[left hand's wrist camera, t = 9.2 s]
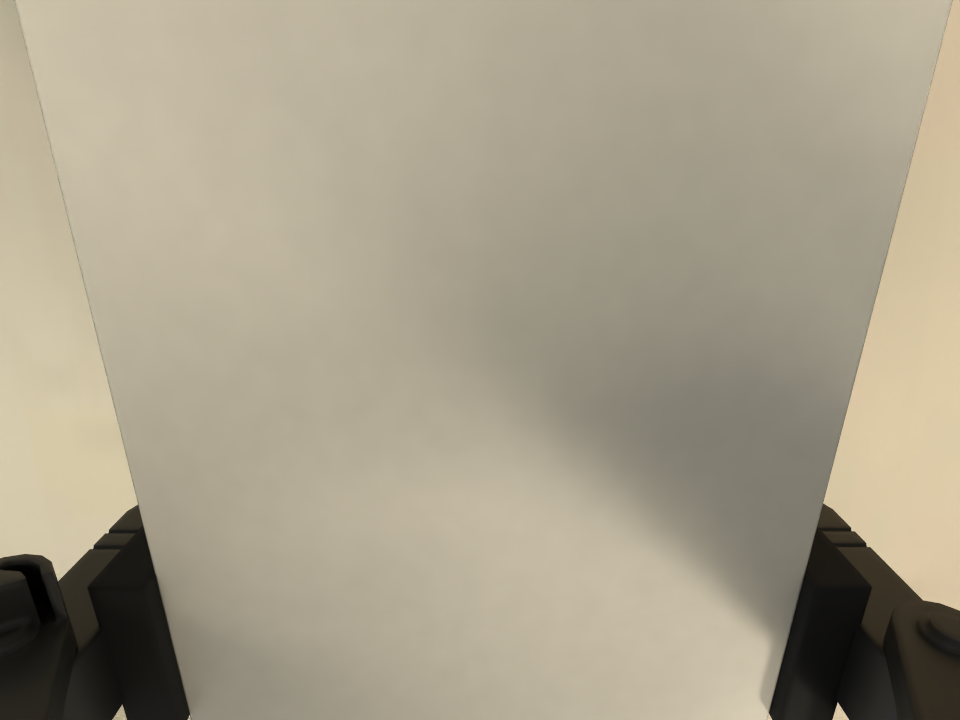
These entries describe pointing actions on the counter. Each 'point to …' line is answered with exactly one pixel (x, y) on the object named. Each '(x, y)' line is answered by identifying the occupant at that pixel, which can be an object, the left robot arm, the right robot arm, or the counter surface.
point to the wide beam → (481, 331)
